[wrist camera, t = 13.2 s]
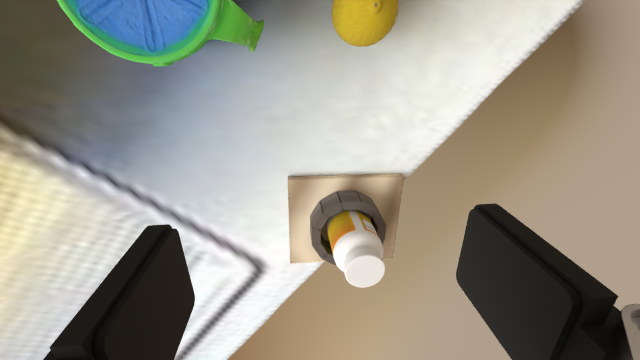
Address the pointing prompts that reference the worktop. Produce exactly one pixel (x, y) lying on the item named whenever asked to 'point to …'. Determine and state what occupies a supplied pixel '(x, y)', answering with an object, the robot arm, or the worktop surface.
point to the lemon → (363, 20)
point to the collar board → (327, 185)
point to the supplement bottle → (356, 247)
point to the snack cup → (161, 26)
